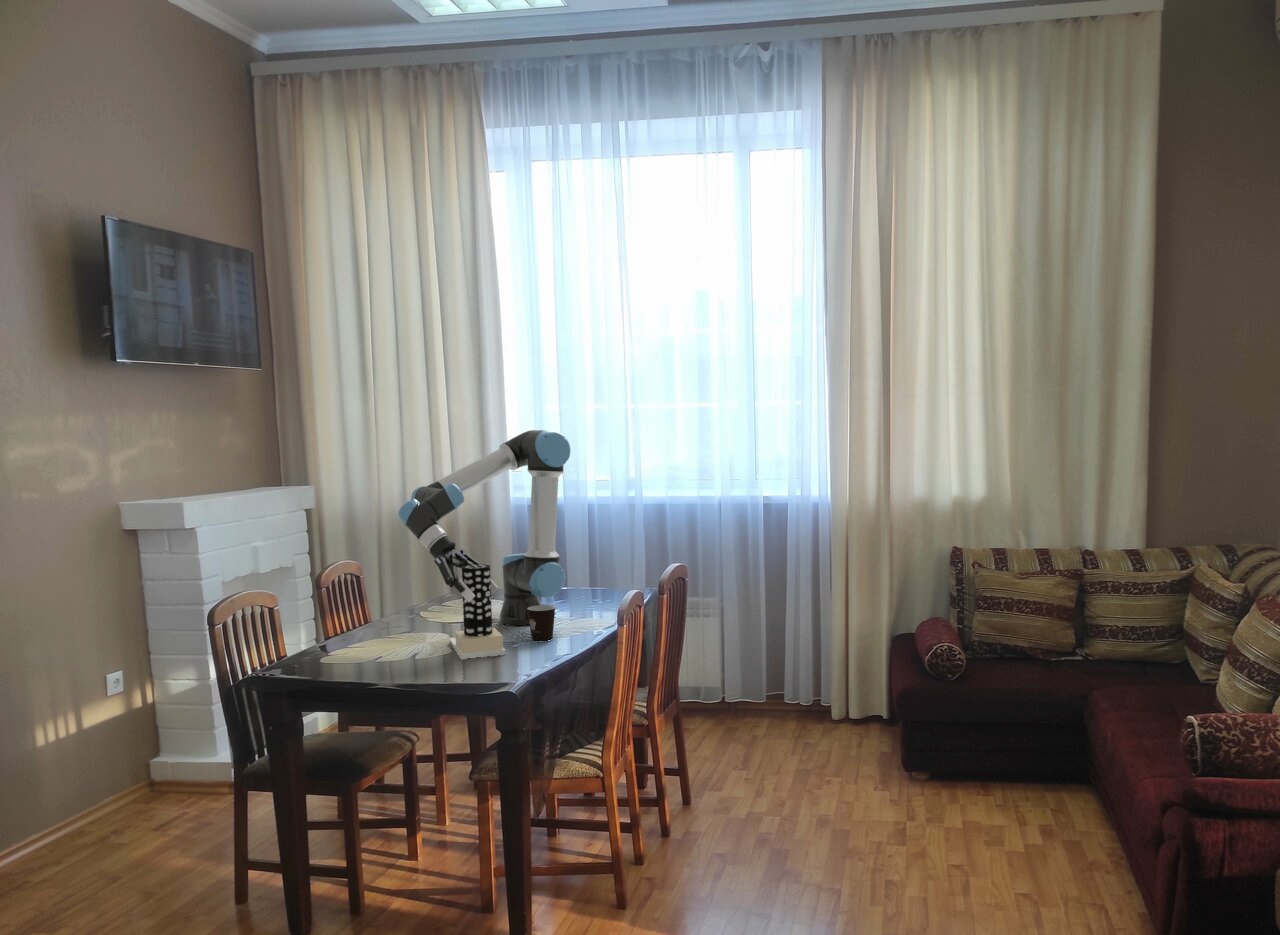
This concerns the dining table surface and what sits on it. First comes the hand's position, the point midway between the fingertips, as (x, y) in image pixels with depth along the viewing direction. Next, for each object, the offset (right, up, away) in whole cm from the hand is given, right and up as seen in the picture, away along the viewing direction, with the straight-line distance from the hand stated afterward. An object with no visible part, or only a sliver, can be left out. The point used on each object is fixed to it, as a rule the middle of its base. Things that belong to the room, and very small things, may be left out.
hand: (483, 594), depth 298 cm
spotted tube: (-2, -12, +2) cm, 12 cm away
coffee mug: (+15, -16, +17) cm, 28 cm away
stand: (-3, -17, +6) cm, 18 cm away
